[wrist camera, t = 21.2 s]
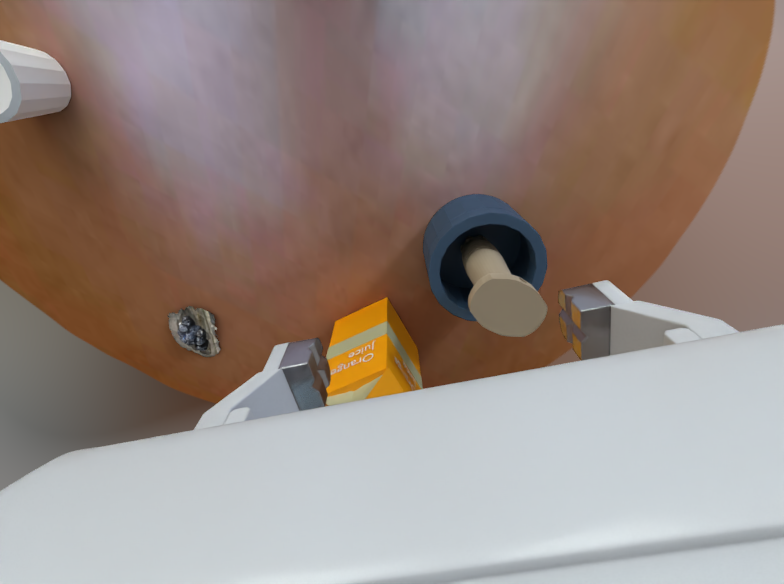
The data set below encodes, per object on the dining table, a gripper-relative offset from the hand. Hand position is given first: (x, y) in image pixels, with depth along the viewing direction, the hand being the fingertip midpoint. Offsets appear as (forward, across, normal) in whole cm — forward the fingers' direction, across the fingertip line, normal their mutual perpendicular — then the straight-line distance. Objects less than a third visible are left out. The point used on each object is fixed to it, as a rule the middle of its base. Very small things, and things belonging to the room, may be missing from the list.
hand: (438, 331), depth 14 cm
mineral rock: (+33, +30, +14) cm, 47 cm away
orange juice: (+33, +8, +20) cm, 39 cm away
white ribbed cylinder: (+33, +33, -16) cm, 50 cm away
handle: (+32, -6, +10) cm, 35 cm away
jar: (+33, -6, +10) cm, 35 cm away
